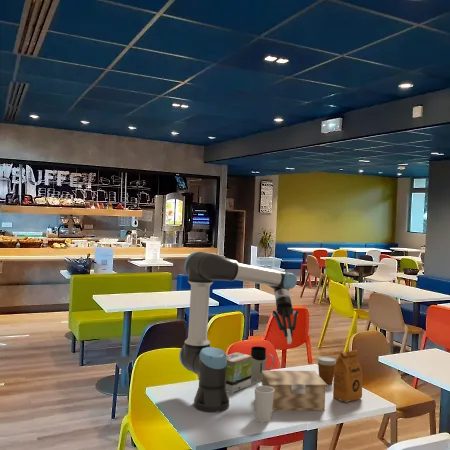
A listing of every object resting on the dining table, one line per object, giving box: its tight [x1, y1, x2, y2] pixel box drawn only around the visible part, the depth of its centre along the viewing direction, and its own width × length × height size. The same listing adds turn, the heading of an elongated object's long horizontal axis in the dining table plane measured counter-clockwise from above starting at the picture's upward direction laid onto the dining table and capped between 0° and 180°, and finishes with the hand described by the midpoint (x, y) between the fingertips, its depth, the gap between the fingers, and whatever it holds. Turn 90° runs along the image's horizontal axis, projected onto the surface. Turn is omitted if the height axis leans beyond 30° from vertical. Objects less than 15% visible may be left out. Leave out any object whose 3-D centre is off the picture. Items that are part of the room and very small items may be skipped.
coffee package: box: [332, 349, 364, 403], centre depth 215 cm, size 10×12×22 cm
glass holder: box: [250, 345, 274, 381], centre depth 238 cm, size 9×14×15 cm, turn 44°
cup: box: [254, 385, 274, 423], centre depth 190 cm, size 8×8×12 cm
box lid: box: [261, 370, 328, 394], centre depth 208 cm, size 25×19×4 cm
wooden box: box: [261, 375, 326, 412], centre depth 208 cm, size 24×18×10 cm
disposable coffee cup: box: [316, 355, 337, 385], centre depth 237 cm, size 10×10×12 cm
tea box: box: [226, 351, 252, 394], centre depth 225 cm, size 15×10×15 cm, turn 143°
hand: (289, 342), depth 216 cm, fingers closed
